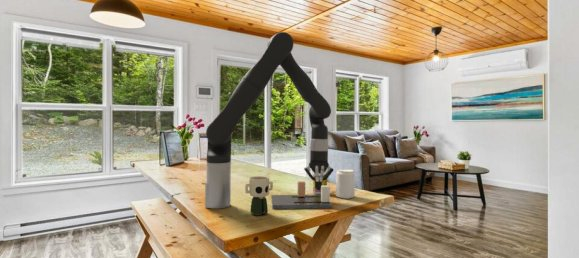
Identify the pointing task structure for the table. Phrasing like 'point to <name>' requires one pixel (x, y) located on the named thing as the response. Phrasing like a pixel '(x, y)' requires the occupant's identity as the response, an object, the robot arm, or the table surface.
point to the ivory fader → (325, 193)
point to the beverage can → (345, 183)
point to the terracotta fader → (301, 189)
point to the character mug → (259, 193)
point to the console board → (298, 202)
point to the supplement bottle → (324, 183)
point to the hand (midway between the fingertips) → (318, 189)
